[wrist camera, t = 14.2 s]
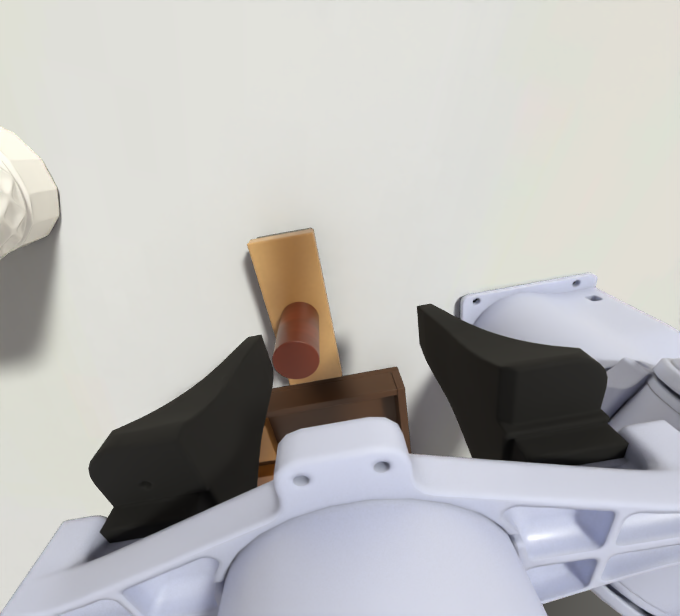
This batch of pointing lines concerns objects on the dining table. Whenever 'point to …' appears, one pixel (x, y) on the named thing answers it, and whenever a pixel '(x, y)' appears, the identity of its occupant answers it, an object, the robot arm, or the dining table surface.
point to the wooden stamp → (296, 305)
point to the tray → (339, 402)
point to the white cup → (24, 195)
